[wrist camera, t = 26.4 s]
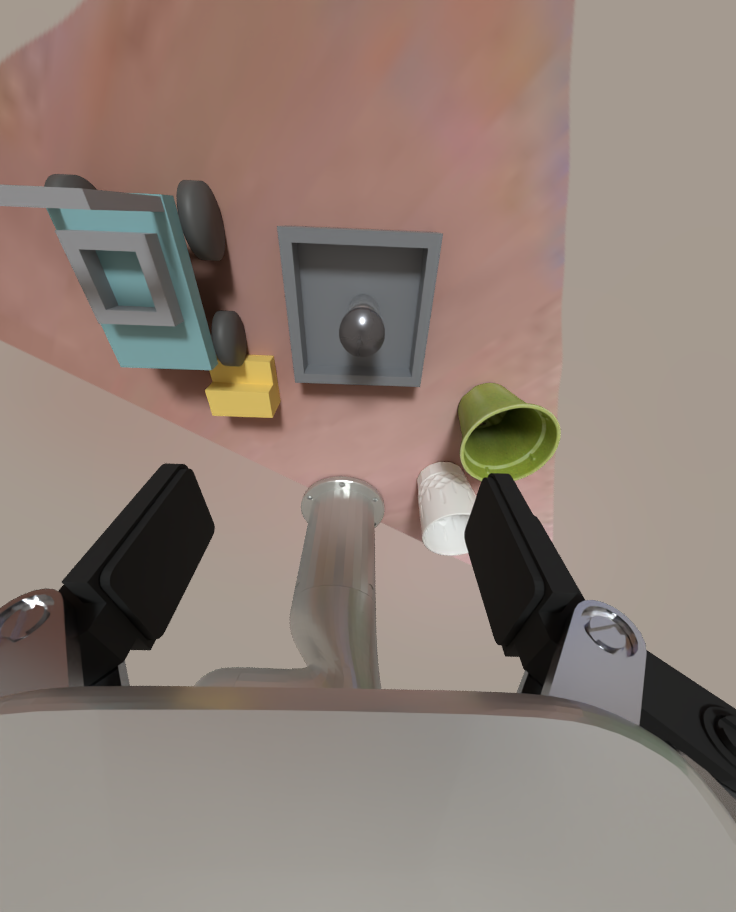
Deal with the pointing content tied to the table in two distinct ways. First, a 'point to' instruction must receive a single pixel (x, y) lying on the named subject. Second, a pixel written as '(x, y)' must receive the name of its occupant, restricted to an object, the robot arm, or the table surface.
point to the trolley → (142, 268)
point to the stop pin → (362, 327)
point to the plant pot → (504, 433)
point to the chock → (244, 388)
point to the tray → (346, 276)
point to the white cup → (444, 507)
